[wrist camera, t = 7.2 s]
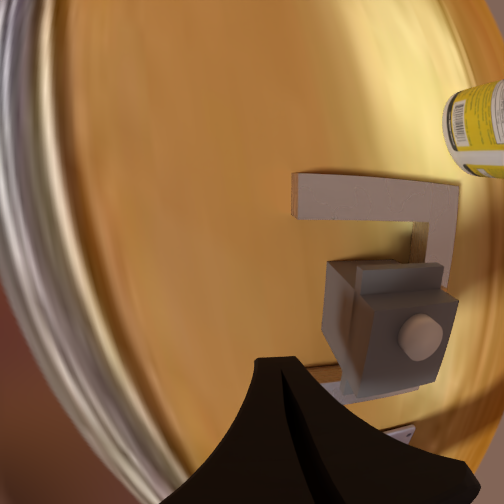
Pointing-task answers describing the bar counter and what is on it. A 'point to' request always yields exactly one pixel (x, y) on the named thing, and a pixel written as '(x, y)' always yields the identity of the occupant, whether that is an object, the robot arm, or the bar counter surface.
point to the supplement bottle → (476, 129)
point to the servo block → (386, 323)
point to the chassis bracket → (381, 209)
